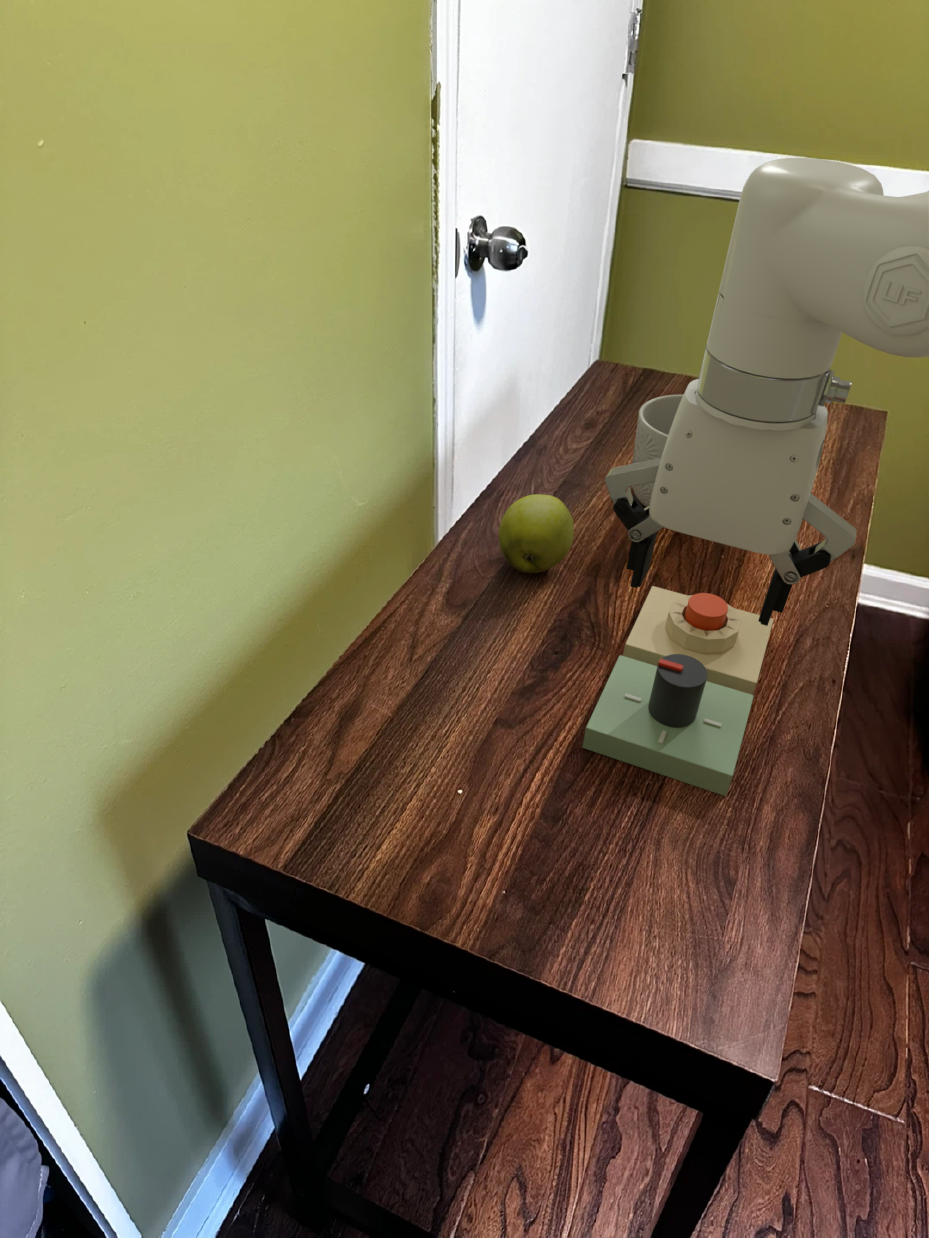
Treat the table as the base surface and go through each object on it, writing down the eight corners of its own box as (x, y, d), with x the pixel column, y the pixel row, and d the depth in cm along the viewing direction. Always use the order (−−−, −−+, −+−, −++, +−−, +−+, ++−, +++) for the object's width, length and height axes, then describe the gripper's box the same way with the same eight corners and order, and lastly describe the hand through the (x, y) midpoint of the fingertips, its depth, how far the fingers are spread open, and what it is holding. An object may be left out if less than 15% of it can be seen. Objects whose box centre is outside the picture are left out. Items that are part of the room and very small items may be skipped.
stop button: (727, 613, 81) (731, 599, 80) (719, 635, 78) (724, 621, 77) (689, 603, 82) (693, 588, 81) (680, 624, 79) (684, 610, 78)
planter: (746, 525, 99) (770, 440, 93) (644, 533, 98) (661, 447, 91) (704, 472, 109) (723, 391, 102) (611, 478, 107) (624, 396, 100)
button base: (768, 636, 84) (778, 603, 81) (751, 700, 77) (762, 668, 74) (648, 602, 88) (655, 571, 85) (621, 661, 80) (628, 629, 78)
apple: (575, 547, 95) (583, 484, 90) (562, 595, 88) (570, 530, 83) (506, 536, 96) (510, 473, 91) (488, 582, 89) (492, 517, 84)
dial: (700, 702, 73) (713, 659, 70) (690, 733, 70) (702, 690, 67) (654, 688, 74) (664, 645, 71) (642, 718, 71) (652, 675, 68)
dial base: (747, 715, 75) (754, 693, 74) (725, 796, 68) (733, 774, 67) (615, 674, 79) (619, 653, 77) (582, 748, 72) (586, 726, 70)
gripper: (908, 389, 54) (824, 600, 65) (642, 336, 59) (606, 540, 70) (903, 439, 49) (812, 660, 60) (611, 376, 54) (577, 590, 65)
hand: (701, 595), depth 65 cm, fingers open, 9 cm apart
